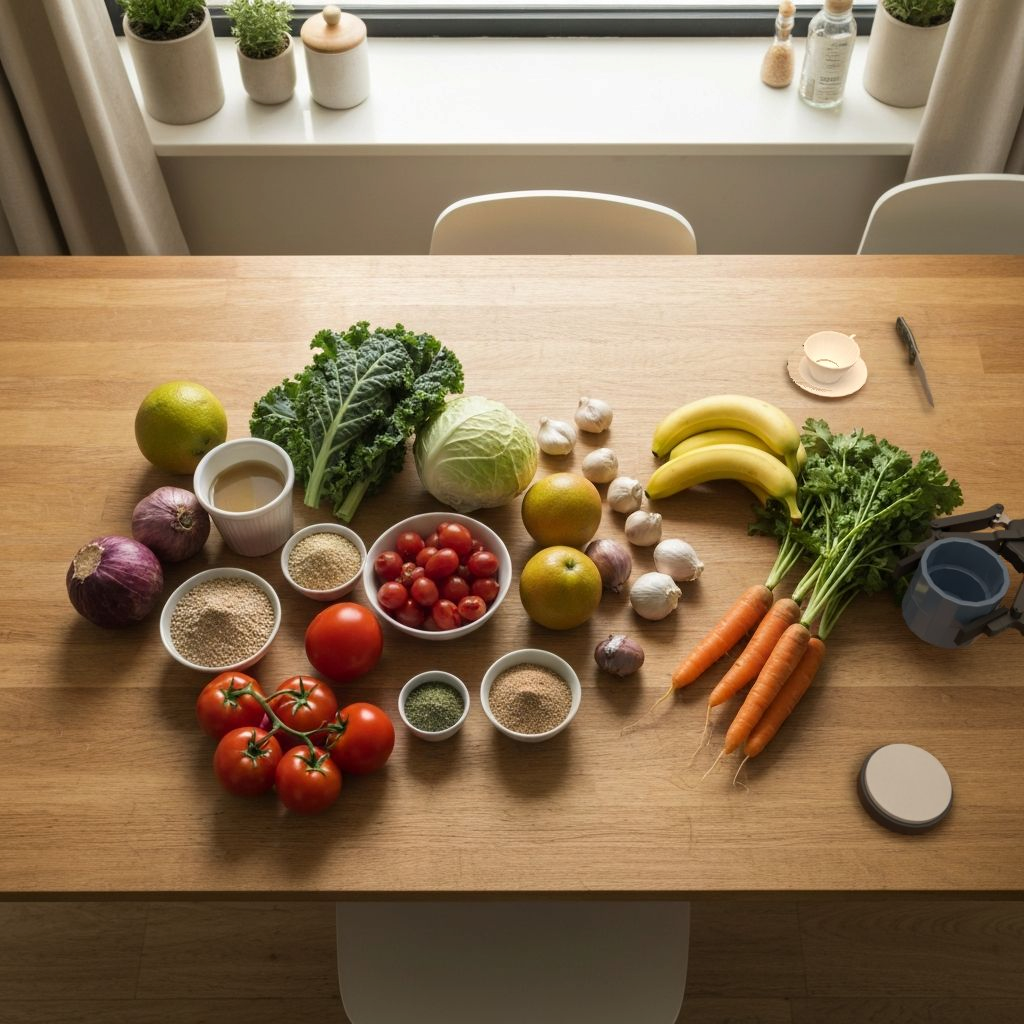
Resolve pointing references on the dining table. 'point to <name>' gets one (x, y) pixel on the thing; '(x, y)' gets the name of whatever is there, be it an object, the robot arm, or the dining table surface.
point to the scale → (904, 789)
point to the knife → (914, 356)
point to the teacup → (832, 364)
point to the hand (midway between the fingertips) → (927, 603)
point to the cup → (953, 590)
